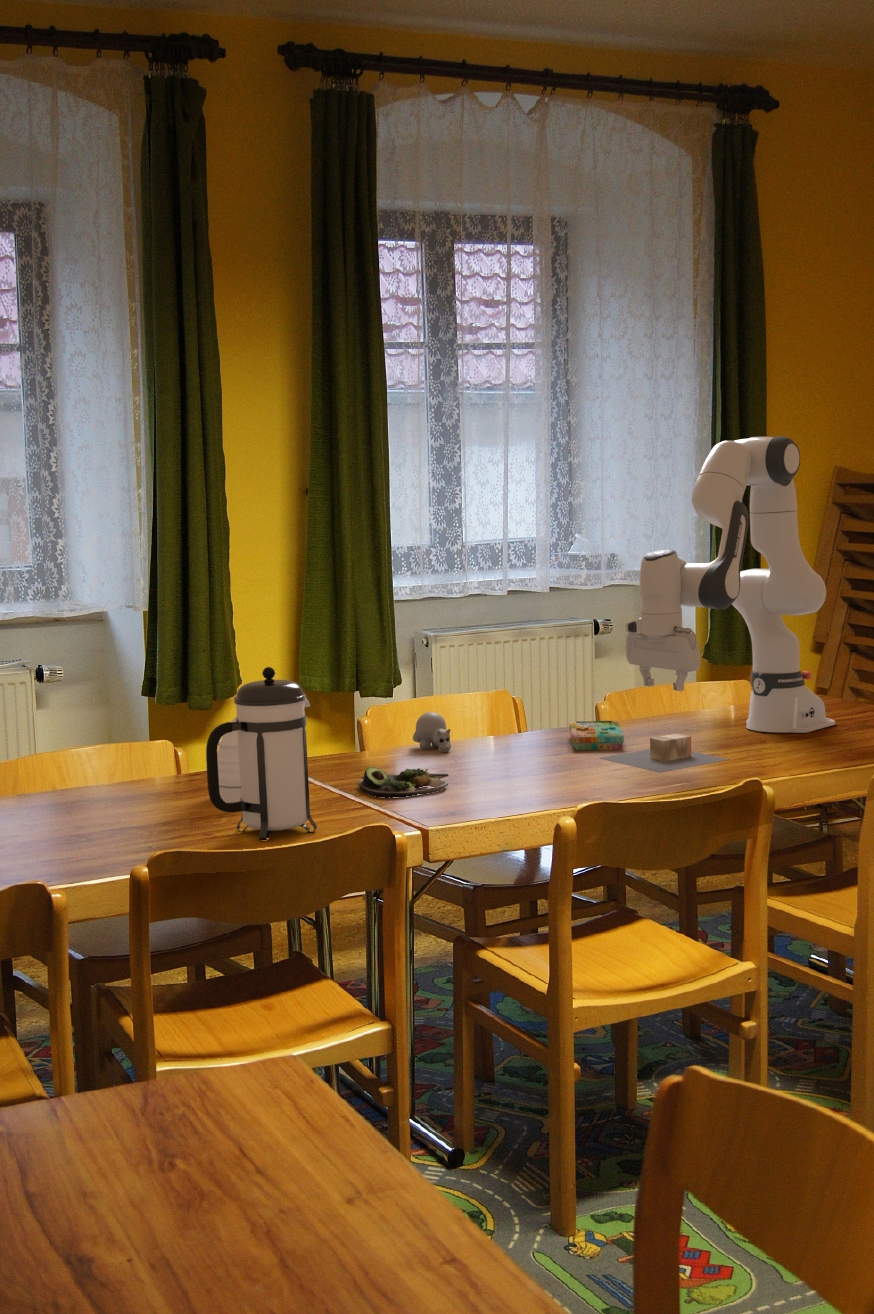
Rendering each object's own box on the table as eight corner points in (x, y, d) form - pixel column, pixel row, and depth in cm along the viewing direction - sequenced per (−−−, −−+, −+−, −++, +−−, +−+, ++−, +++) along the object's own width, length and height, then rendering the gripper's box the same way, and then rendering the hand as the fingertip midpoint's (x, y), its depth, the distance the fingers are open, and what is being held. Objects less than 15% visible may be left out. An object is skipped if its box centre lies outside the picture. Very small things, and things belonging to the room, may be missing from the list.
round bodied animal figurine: (431, 765, 300) (436, 734, 296) (407, 739, 309) (412, 708, 305) (458, 760, 303) (463, 729, 300) (433, 735, 312) (438, 704, 309)
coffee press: (251, 819, 243) (242, 661, 240) (330, 822, 239) (322, 661, 235) (209, 843, 227) (199, 674, 223) (293, 847, 222) (284, 675, 218)
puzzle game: (571, 733, 295) (569, 718, 315) (572, 753, 296) (569, 737, 316) (623, 732, 294) (617, 717, 314) (623, 752, 295) (617, 736, 315)
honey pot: (287, 792, 265) (283, 705, 263) (254, 806, 254) (249, 716, 251) (234, 788, 270) (229, 703, 268) (199, 802, 259) (194, 713, 257)
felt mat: (666, 747, 297) (666, 746, 297) (729, 760, 281) (729, 759, 281) (598, 759, 287) (598, 758, 287) (660, 773, 270) (660, 772, 270)
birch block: (664, 740, 280) (691, 736, 285) (649, 738, 284) (676, 733, 288) (664, 761, 281) (691, 756, 285) (650, 758, 285) (677, 753, 289)
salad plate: (433, 775, 278) (432, 754, 277) (468, 791, 262) (468, 769, 261) (348, 786, 270) (347, 765, 270) (380, 803, 254) (379, 780, 253)
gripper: (706, 627, 273) (708, 691, 275) (641, 620, 290) (643, 681, 292) (684, 630, 270) (686, 695, 272) (620, 623, 287) (622, 685, 289)
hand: (663, 688), depth 282 cm, fingers open, 8 cm apart
